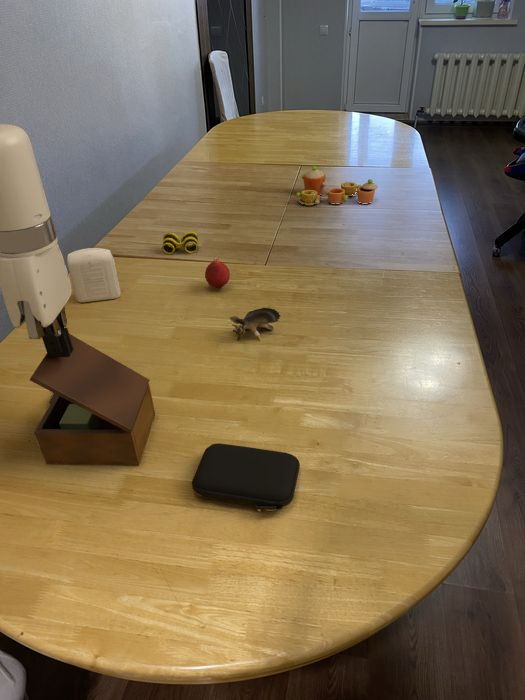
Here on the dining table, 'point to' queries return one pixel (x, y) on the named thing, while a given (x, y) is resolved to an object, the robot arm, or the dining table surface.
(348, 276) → the dining table surface
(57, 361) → the lid
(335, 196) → the toy tea set
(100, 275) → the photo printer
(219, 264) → the onion
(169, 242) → the opera glasses
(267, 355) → the dining table surface
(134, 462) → the keepsake box
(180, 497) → the dining table surface
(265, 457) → the carrying case
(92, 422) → the block
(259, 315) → the brown animal figure
